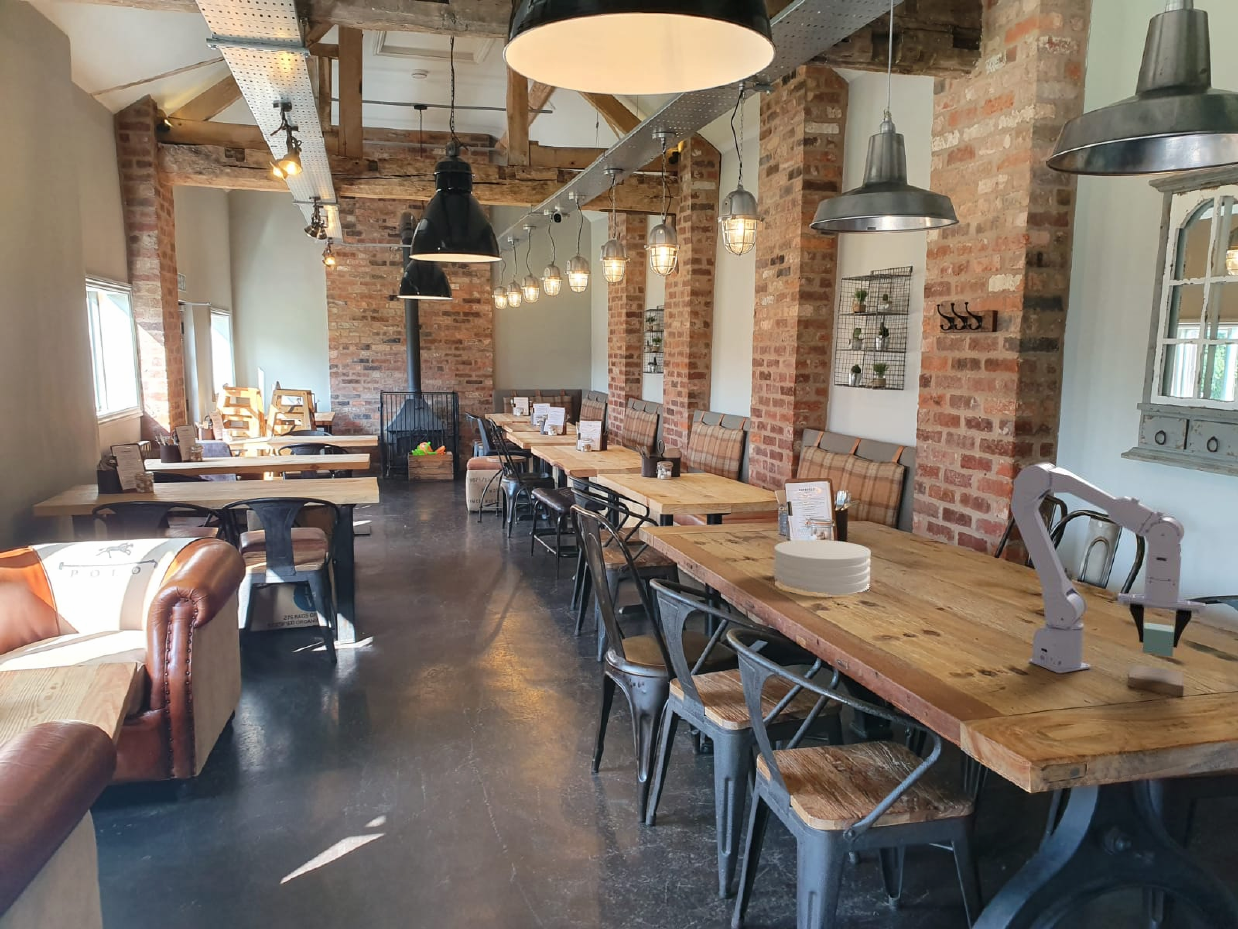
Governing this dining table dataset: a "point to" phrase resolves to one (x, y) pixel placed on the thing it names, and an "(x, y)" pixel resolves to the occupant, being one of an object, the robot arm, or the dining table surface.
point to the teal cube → (1158, 639)
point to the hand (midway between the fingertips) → (1157, 643)
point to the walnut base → (1156, 679)
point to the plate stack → (823, 566)
